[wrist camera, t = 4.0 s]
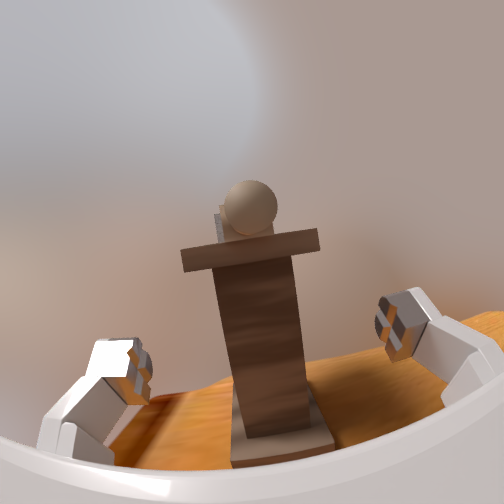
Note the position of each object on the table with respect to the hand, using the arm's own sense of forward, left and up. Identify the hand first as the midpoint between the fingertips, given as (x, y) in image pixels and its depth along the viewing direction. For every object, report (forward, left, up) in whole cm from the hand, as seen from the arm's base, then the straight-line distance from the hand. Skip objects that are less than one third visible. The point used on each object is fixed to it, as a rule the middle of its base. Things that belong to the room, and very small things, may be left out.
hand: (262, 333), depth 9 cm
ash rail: (-11, -13, +3) cm, 18 cm away
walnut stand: (-16, -20, -23) cm, 34 cm away
